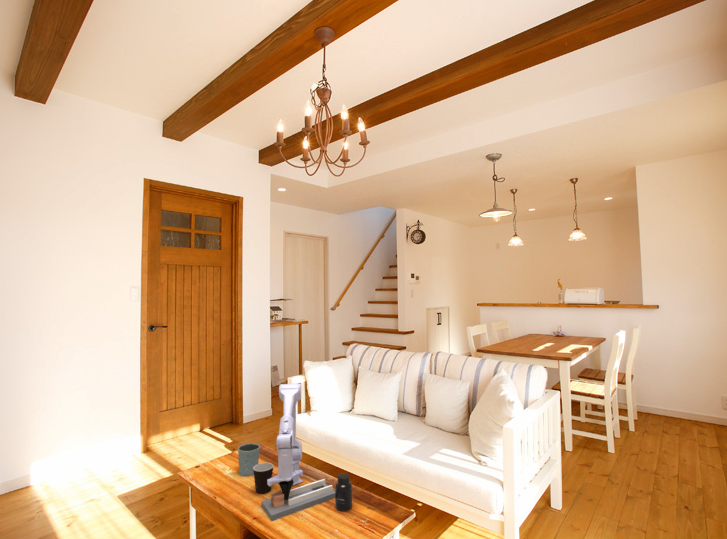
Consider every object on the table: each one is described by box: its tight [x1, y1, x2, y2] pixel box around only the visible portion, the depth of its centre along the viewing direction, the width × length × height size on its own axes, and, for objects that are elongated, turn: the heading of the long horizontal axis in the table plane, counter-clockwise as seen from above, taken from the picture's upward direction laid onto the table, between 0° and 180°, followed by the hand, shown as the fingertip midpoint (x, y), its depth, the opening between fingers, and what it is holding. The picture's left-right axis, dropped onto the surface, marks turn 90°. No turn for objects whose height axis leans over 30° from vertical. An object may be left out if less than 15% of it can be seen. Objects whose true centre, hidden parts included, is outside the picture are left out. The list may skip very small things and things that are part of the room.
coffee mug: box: [253, 462, 274, 495], centre depth 166 cm, size 12×9×10 cm
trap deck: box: [260, 482, 335, 522], centre depth 155 cm, size 12×28×2 cm, turn 124°
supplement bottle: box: [334, 473, 353, 512], centre depth 151 cm, size 7×7×12 cm
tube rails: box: [288, 478, 334, 506], centre depth 157 cm, size 8×20×2 cm, turn 124°
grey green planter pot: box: [237, 442, 261, 477], centre depth 182 cm, size 10×10×12 cm
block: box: [270, 489, 284, 508], centre depth 150 cm, size 4×4×4 cm
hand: (285, 498), depth 152 cm, fingers closed
